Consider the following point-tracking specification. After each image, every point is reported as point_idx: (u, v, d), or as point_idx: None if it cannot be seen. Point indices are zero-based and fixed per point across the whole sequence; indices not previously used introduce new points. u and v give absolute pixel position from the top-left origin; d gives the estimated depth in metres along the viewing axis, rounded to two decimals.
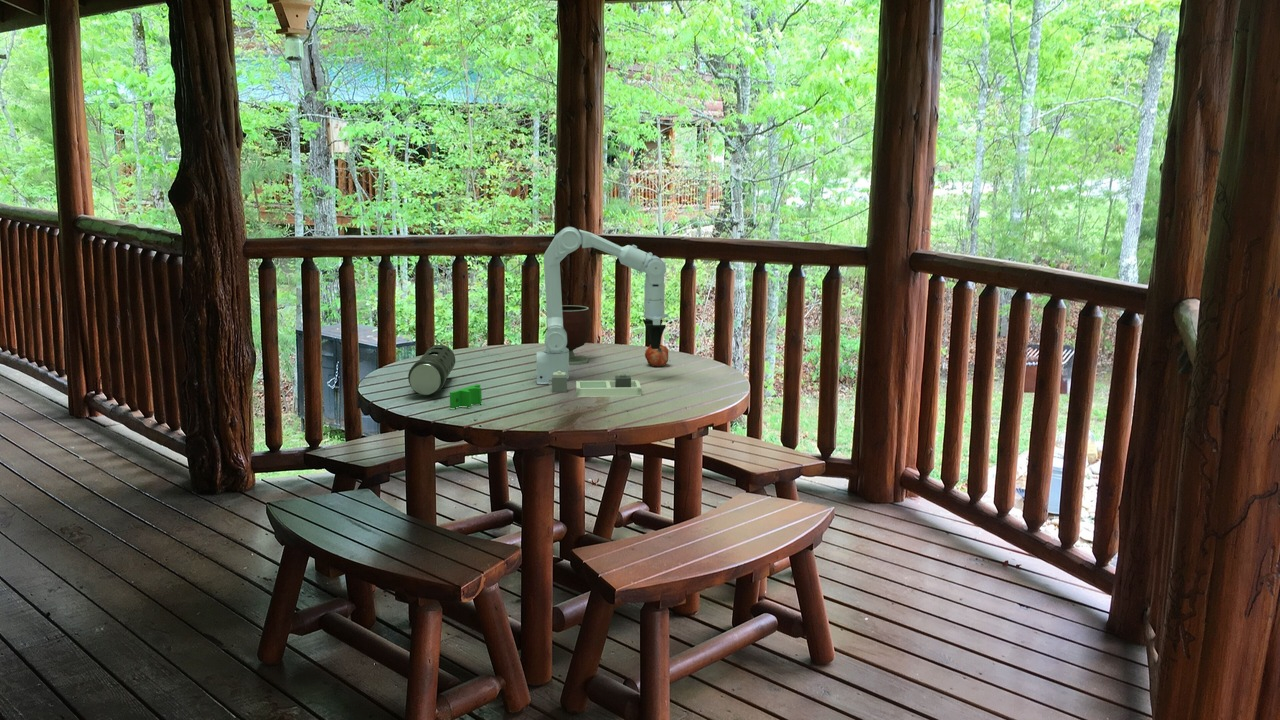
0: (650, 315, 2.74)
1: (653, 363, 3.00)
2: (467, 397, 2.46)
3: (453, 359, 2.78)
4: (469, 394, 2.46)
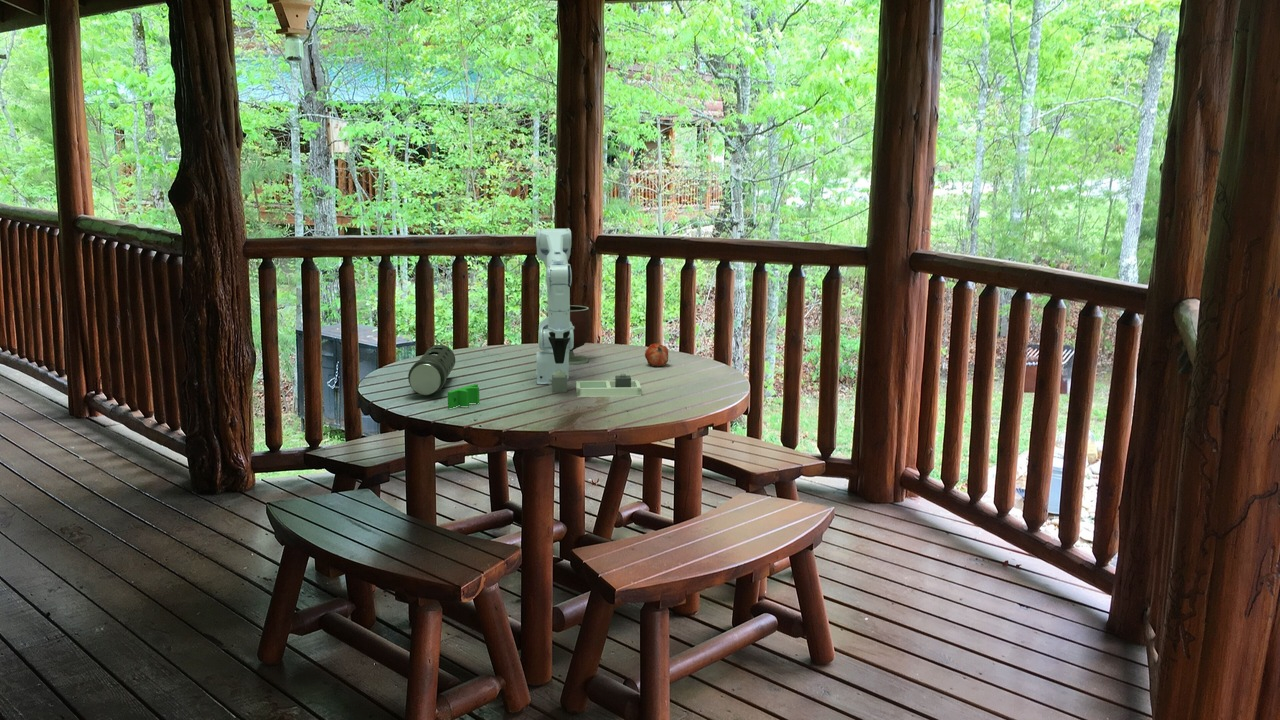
0: (554, 327, 2.56)
1: (653, 363, 3.00)
2: (465, 397, 2.46)
3: (453, 359, 2.78)
4: (467, 394, 2.46)
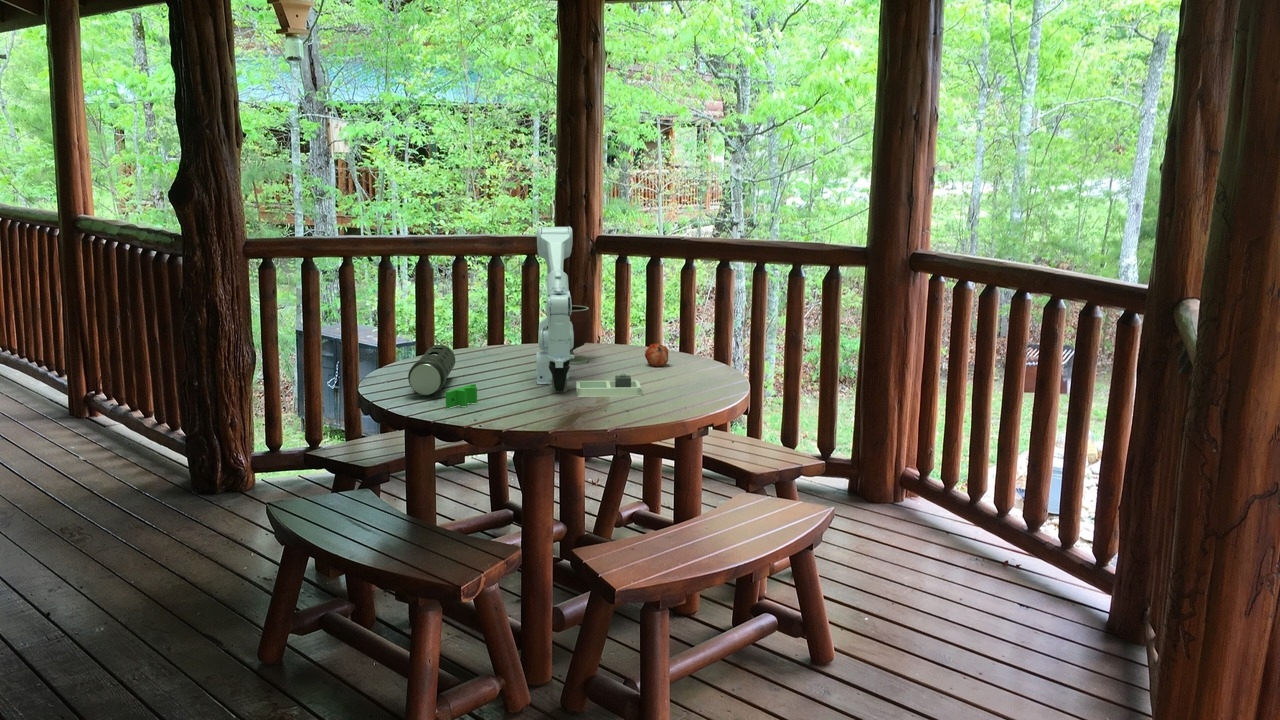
0: (554, 356, 2.57)
1: (653, 363, 3.00)
2: (463, 396, 2.47)
3: (453, 359, 2.78)
4: (465, 393, 2.46)
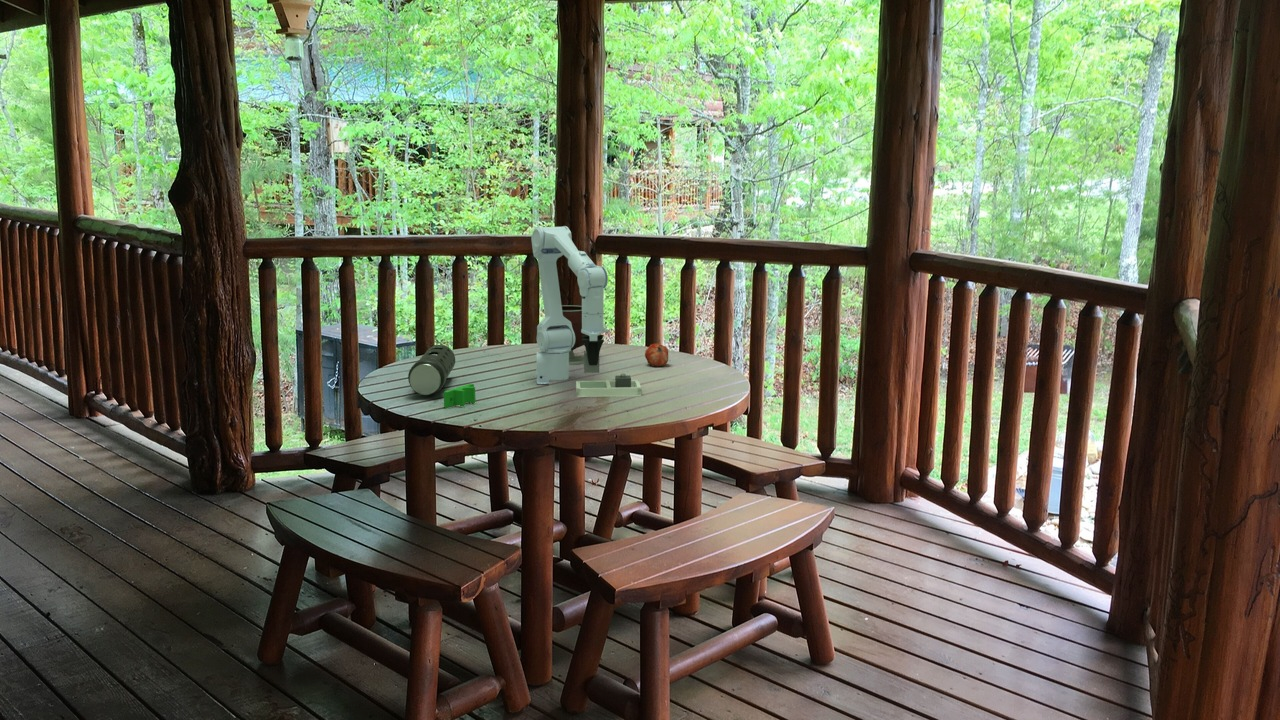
0: (587, 330, 2.54)
1: (653, 363, 3.00)
2: (461, 396, 2.47)
3: (453, 359, 2.78)
4: (463, 393, 2.47)
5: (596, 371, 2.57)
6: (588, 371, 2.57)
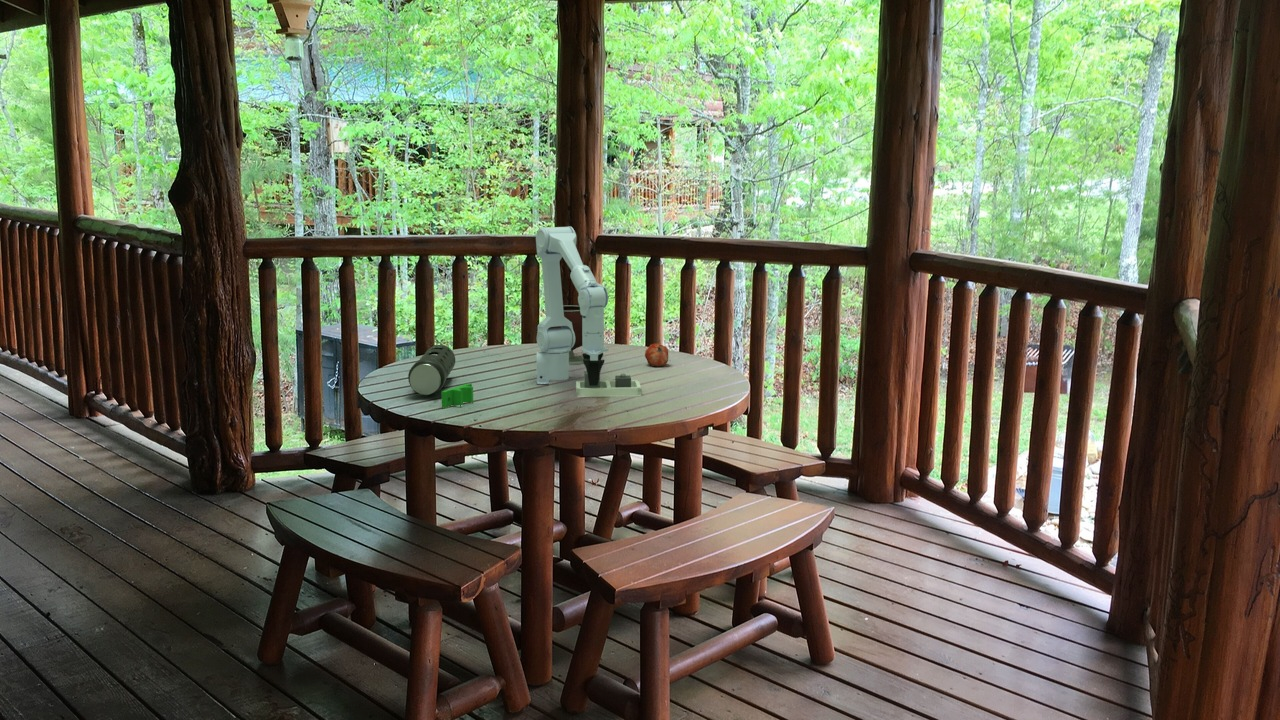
0: (588, 349, 2.55)
1: (653, 363, 3.00)
2: (459, 396, 2.47)
3: (453, 359, 2.78)
4: (461, 393, 2.47)
5: None
6: None
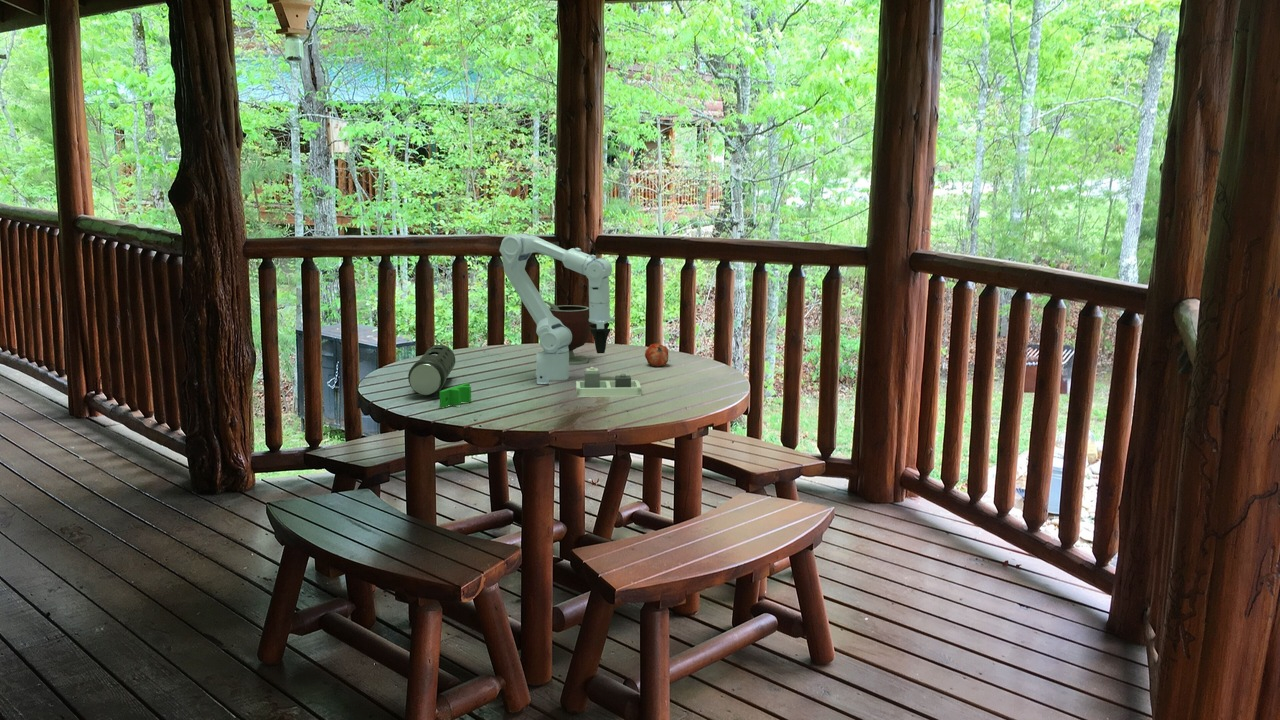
0: (595, 319, 2.68)
1: (653, 363, 3.00)
2: (457, 396, 2.47)
3: (453, 359, 2.78)
4: (459, 393, 2.47)
5: None
6: None
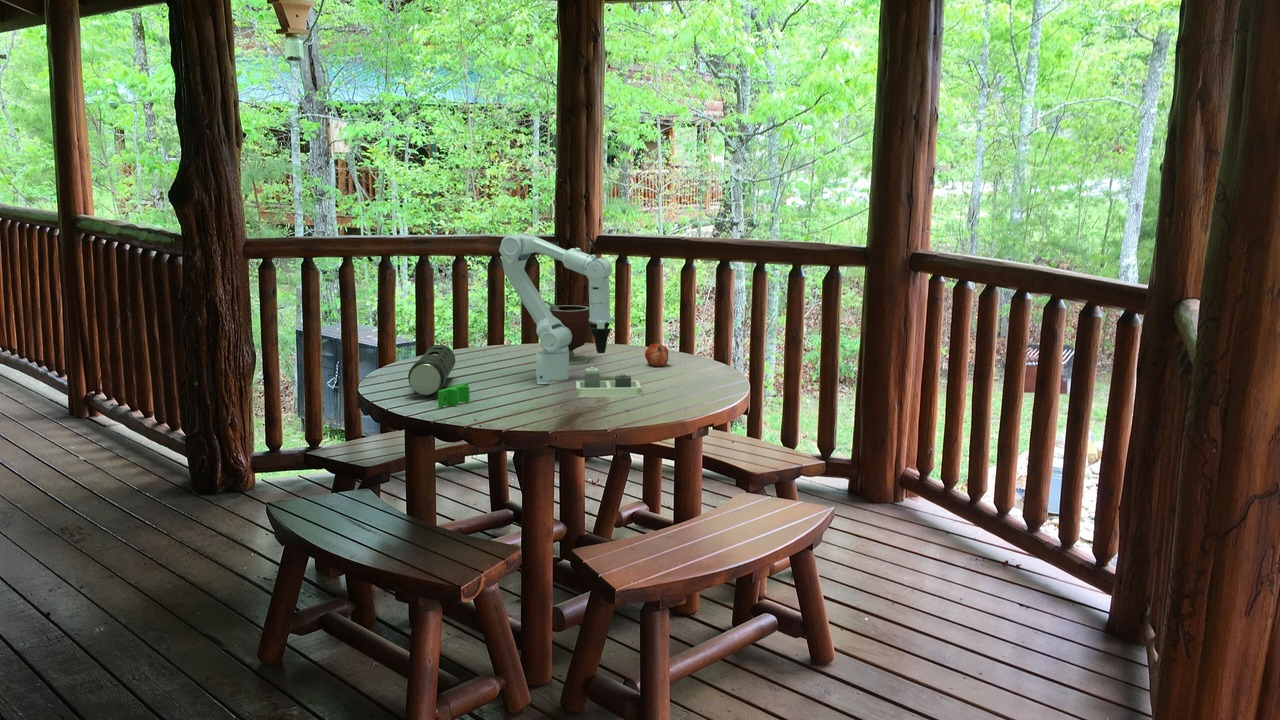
0: (595, 319, 2.68)
1: (653, 363, 3.00)
2: (455, 395, 2.48)
3: (453, 359, 2.78)
4: (457, 392, 2.47)
5: None
6: None
